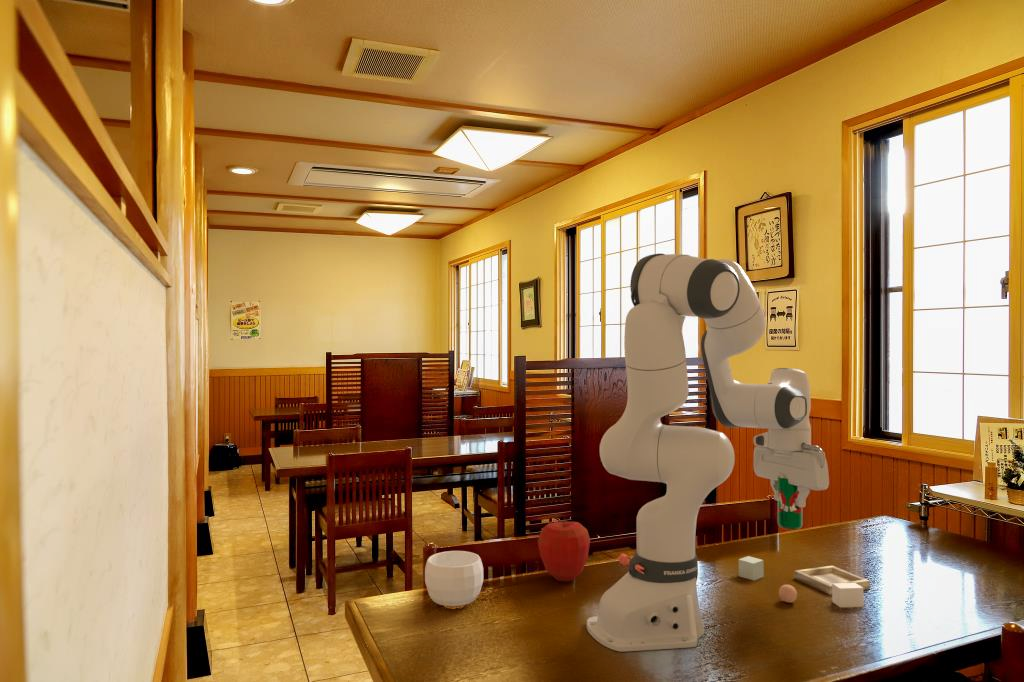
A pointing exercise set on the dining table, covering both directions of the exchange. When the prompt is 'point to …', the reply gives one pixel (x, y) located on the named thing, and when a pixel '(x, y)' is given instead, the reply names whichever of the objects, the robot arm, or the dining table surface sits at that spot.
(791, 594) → the terracotta ball
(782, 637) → the dining table surface
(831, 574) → the tray
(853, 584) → the cream block
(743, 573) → the sage block
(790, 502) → the soda can
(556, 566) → the apple
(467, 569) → the cup
